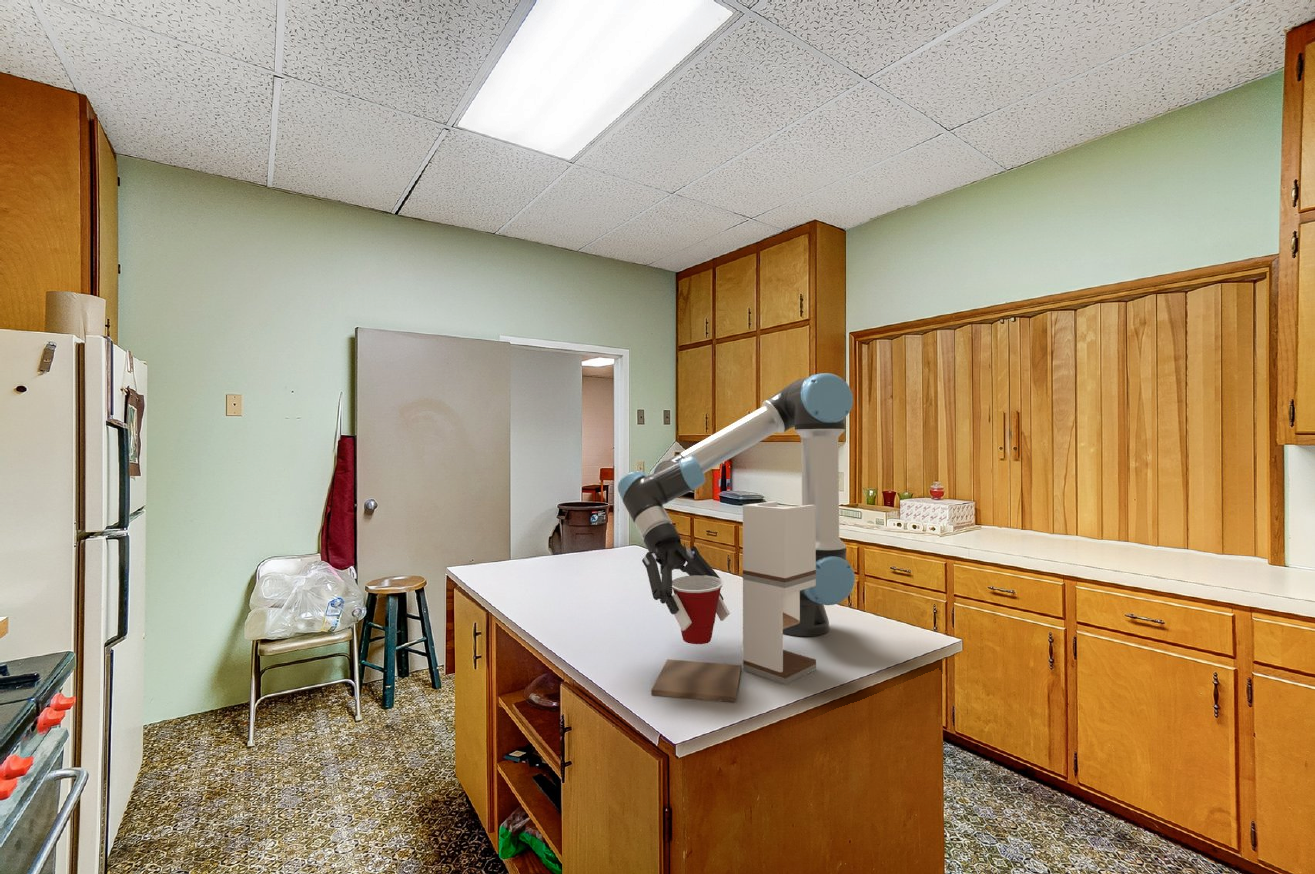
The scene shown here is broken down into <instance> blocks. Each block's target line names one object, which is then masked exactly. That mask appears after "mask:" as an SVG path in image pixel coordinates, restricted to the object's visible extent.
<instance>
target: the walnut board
mask: <svg viewBox="0 0 1315 874" xmlns="http://www.w3.org/2000/svg"><path fill="white" fill-rule="evenodd" d="M741 672H742V665H741V664H731V663H718V662H707V661H695V660H683V659H669V658H667V659H666V660H665V663H664V665H663V666H662V669H661V670H660V672H659V674H658V677H657V678H656V680H655V682H654V684H653V686H652V687H651V691H650V692H651V696H658V697H659V696H662V697H670V696H671V697H673V698H681V699H692V700H705V701H713V700H715V702H724V701H730V702H729V703H735V702H737V697H738V696H737V695H738V691H737V690H739V684H740V679H741V674H742V673H741ZM736 696H737V697H736ZM719 700H721V701H719Z"/></svg>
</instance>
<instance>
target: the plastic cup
mask: <svg viewBox="0 0 1315 874" xmlns="http://www.w3.org/2000/svg"><path fill="white" fill-rule="evenodd" d="M720 578H721V577H720ZM720 578H717V577H713V576H706V575H704V576H700V575H693V576H690V575H685V576H684V575H683V576H681V577H680V576H679V577H676V578H674V579H672V593H674V594H677V595H678V597H679V599H680V601H681V603H682V605H683V607H684V609H685V611H686V612H687V614H688V616H689V618H690V620H691V622H692V623H691V624H690V625H689V626H688V628H687V629H686V630H684V631H682V629H681V628H680V632H681V637H682V640H683V642H685V643H687V644H691V645H706V644H708V643H710V642H711V640H712V638H713V631H714V626H715V622H716V616H717V613H716V611H717V605H718V599H719V594H720V593H721V590H722V587H723V586H724V581H723V580H722V578H721V579H720Z"/></svg>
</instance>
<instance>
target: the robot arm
mask: <svg viewBox="0 0 1315 874" xmlns="http://www.w3.org/2000/svg"><path fill="white" fill-rule="evenodd" d="M853 404H854V396H853V392H852V390H851V388H850V386H849V384H848V383H847V382H846V381H845V380H844V379H843V378H842V377H841V376H839V375H836V374H834V373H828V372H826V373H814V374H812V375H810V376H808V377H804V378H800V379H797V380H794V381H792V382H791V383H789V384H788V385H786V386H785V387H784V388H782V389H781V390H780V391H778V392H776V393H775V394H773V395H772V396H770V397H769V398H767V399H765V400H764V401H762V403H761V406H760V407H759V408H758V409H755V410H754V411H751V412H750V413H749V414H747V415H745V416H743V417H741V418H739V419H738V420H736V421H735V422H733V423H731V424H729V425H727V426H726V427H723V428H722V429H721V430H718V431H717V432H714V433H713V434H711V435H710V436H708V437H705V439H703V440H701V441H699V442H697V443H696V444H694V445H692V446H691V447H690V446H689V447H688V448H687V449H685V450H683V451H681V452H680V453H679V454H677V455H675V456H673V457H671V458H669V459H668V460H667V459H666V460H663V461H661V462H659V463H658V464H656V466H655V468H654V469H653V472H652V474H649V475H646V473H644V472H643V471H641V470H637V471H631V472H629V473H626V474H625V475H624V476H623V477H622V478H620V479H619V482H618V484H617V491H618V495H619V496H620V498H621V500H622V502H623V505H624V506H625V509H626V511H627V512H628V514H629V515H630V518H631V519H632V521H633V523H634V526H635V527H636V530H637V531H638V534H639V535H640V537H641V539H642V540H643V543H644V545H645V547H646V549H647V551H648V552H646V554H645V555H644V556H643V557H642V560H641V562H642V563H643V565H644V567H645V569H646V572H647V578H648V581H649V584H650V590H651V595H652V597H653V599H654V600H655V601H658V600H659V602H660V603H661V604H663V605H664V604H665V605H666V607H667V609H668V610H669V613H670V614H671V615H673V616H674V617H675V619H676V622H677V623H678V625H679V627H680V630H681V629H682V631H684V630H686V629H687V628H688V626H689V625H690V624H691V623H692V622H691V620H690V618H689V616H688V614H687V612H686V611H685V609H684V607H683V605H682V603H681V601H680V599H679V597H678V595H677V594H673V588H672V580H673V571H674V570H680V571H681V572H682V573H685V574H687V576H693V575H700V576H704V575H706V576H713V577H717V578H720V579H721V580H722V578H721V577H720V576H719V575H718V574H717V572H715V570H714V569H713V568H712V566H711V565H710V564H709V563H708V562H707V561H706V560H705V559H704V557H703V555H701V554H700V552H699V549H698V548H697V547H696V546H695V545H692V546H691V548H686V546H684V545H683V544H682V541H681V535H680V534H679V532H678V530H677V528H676V526H675V524H673V521H672V519H671V518H670V516H669V515H668V512H667V511H666V509H665V507H664V505H666V504H668V503H669V502H671V501H674V500H675V499H677V498H680V497H681V496H684V495H686V494H688V493H690V492H692V491H695V490H696V489H697V488H699V487H701V486H703V485H704V484H706V483H705V482H706V476H705V473H707V472H709V471H711V470H712V469H714V468H715V467H718V466H719V465H721V464H723V463H724V462H727V461H728V460H730V459H732V458H733V457H735V456H737V455H738V454H740V453H742V452H743V451H746V450H747V449H749V448H751V447H753V446H755V445H756V444H757V443H760V442H762V441H763V440H765V439H767V438H769V437H770V436H772V435H774V434H776V433H779V434H783V433H785V432H787V431H789V430H791V429H793V428H794V433H796V434H797V435H798V436H799V437H800V441H801V442H800V443H801V444H800V449H801V453H800V454H801V506H806V505H815V517H816V586H813V587H810V588H807V589H803V590H800V623H799V624H796V625H794V626H791V627H788V628H785V629H783V635H784V634H785V635H790V636H795V637H816V636H821V635H824V634H826V633H828V632H829V631H830V621H829V617H828V614H827V610H826V608H825V606H833V605H834V606H835V605H838V604H840V603H842V602H844V601H845V599H847V598H848V597H849V596H850V595H851V594H852V592H853V589H854V586H855V582H856V576H855V572H854V569H853V567H852V566H851V564H850V563H849V562H848V561H847V545H846V544H845V543H844V541H843V540H841V537H840V494H839V493H840V491H839V490H840V489H839V488H840V485H839V484H840V483H839V479H840V475H839V473H840V471H839V468H840V466H839V438H840V436H841V435H842V434H843V433H844V432H845V430H846V417H847V416H849V413H850V412H851V410H852V408H853ZM658 564H659V567H660V571H659V567H658ZM660 574H661V575H660ZM721 593H722V592H720V594H719V599H718V605H717V611H716V616H717V617H718V619H719V620H720V622H723V621H725V620H726V618H727V617H728V616H730V614H731V612H730V611H729V608H728V607H727V605H726V603H725V602H724V597H723V595H722V594H721Z"/></svg>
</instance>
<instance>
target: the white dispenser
mask: <svg viewBox="0 0 1315 874" xmlns="http://www.w3.org/2000/svg"><path fill="white" fill-rule="evenodd" d="M813 586H816V517H815V505H806V506H802V505H798V506H787V507H786V506H784V507H783V506H782V507H781V506H780V507H779V506H778V501H769V502H768V501H767V502H766V501H765V502H759V503H758V502H757V503H756V502H755V503H749V504H742V670H743V671H747V672H749V673H752V674H754V675H758V676H760V677H764V678H765V679H769V680H771V681H774V680H775V681H774V682H776V683H777V682H778V683H780V684H782V683H783V685H788V684H789V683H791V682H793V681H795V680H797V679H799V678H801V677H803V675H804V674H806V673H808V672H810V671H812V670H814V669H816V670H817V659H816V658H811V657H808V656H805V655H801V654H799V653H795V652H792V651H789V650H786V649H784V633H783V629H785V628H788V627H791V626H794V625H796V624H799V623H800V590H803V589H807V588H810V587H813ZM814 671H815V670H814ZM812 672H813V671H812ZM810 673H811V672H810ZM808 674H809V673H808ZM806 675H807V674H806ZM800 676H801V677H800ZM804 676H805V675H804Z"/></svg>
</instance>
